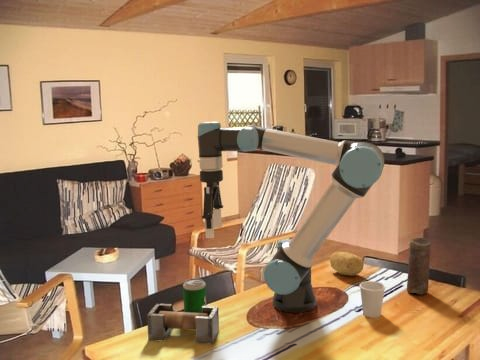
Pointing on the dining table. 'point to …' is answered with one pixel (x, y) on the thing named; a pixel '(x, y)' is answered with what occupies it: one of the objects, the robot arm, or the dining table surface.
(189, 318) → the brown wooden log
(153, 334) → the bracket
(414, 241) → the candle
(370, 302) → the dixie cup
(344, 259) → the potato
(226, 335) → the dining table surface
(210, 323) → the bracket
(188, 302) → the soda can
